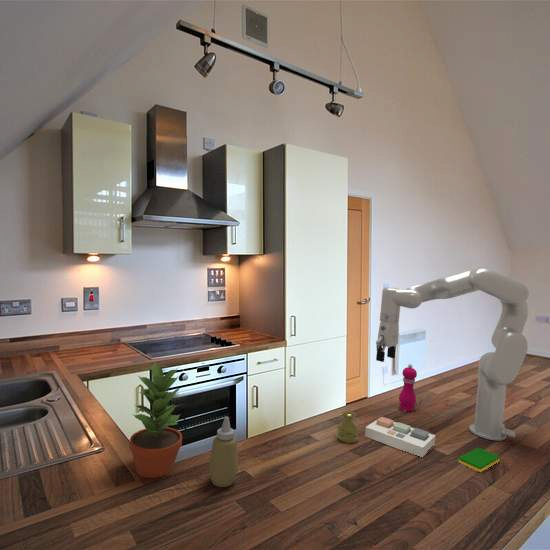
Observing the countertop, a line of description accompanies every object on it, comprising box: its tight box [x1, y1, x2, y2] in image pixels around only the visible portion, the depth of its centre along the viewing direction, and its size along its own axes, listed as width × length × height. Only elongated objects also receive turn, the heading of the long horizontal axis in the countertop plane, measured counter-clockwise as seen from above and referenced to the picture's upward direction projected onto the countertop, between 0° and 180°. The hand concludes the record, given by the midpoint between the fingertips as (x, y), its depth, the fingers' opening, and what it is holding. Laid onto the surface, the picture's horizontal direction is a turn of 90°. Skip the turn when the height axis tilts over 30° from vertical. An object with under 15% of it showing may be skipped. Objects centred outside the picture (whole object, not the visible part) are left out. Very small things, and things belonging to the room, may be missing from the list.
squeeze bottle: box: [208, 416, 239, 488], centre depth 108 cm, size 8×8×18 cm
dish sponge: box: [458, 447, 501, 473], centre depth 129 cm, size 7×14×2 cm, turn 127°
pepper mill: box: [398, 363, 418, 412], centre depth 173 cm, size 7×7×20 cm
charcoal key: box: [411, 427, 430, 441], centre depth 138 cm, size 5×5×3 cm
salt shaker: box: [336, 409, 360, 444], centre depth 140 cm, size 7×7×10 cm
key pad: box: [364, 419, 436, 458], centre depth 141 cm, size 21×13×4 cm, turn 51°
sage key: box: [393, 422, 411, 435], centre depth 142 cm, size 5×5×3 cm
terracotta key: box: [376, 416, 395, 429], centre depth 146 cm, size 5×5×3 cm
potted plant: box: [128, 360, 183, 479], centre depth 112 cm, size 15×15×30 cm
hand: (385, 359), depth 161 cm, fingers open, 9 cm apart
